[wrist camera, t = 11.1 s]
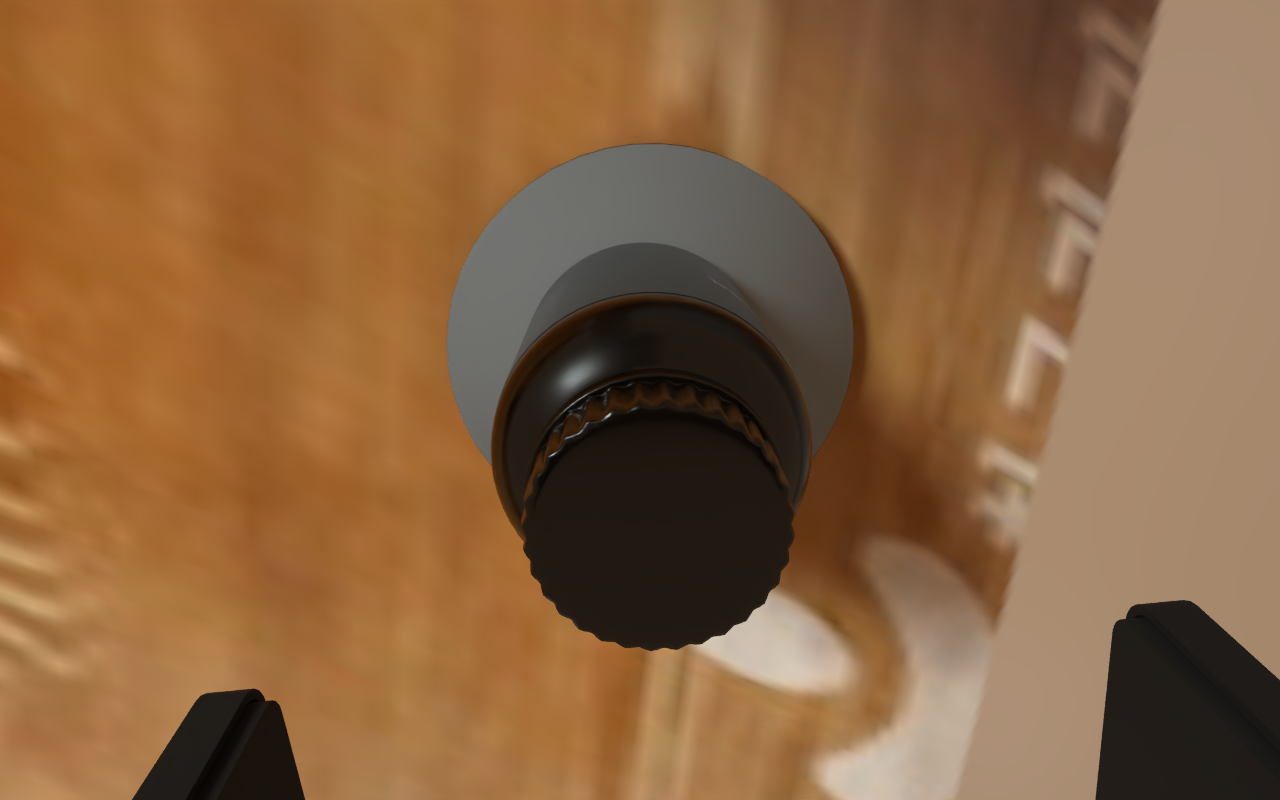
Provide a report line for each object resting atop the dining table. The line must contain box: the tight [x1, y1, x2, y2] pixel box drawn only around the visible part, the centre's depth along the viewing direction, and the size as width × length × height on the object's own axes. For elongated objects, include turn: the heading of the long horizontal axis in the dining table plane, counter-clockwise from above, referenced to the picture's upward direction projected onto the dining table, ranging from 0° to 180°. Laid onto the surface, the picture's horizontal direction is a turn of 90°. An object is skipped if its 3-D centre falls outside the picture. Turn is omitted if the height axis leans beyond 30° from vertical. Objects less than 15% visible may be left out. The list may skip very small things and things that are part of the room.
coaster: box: [447, 143, 854, 466], centre depth 28 cm, size 12×12×1 cm
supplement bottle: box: [491, 242, 812, 651], centre depth 22 cm, size 7×7×12 cm
